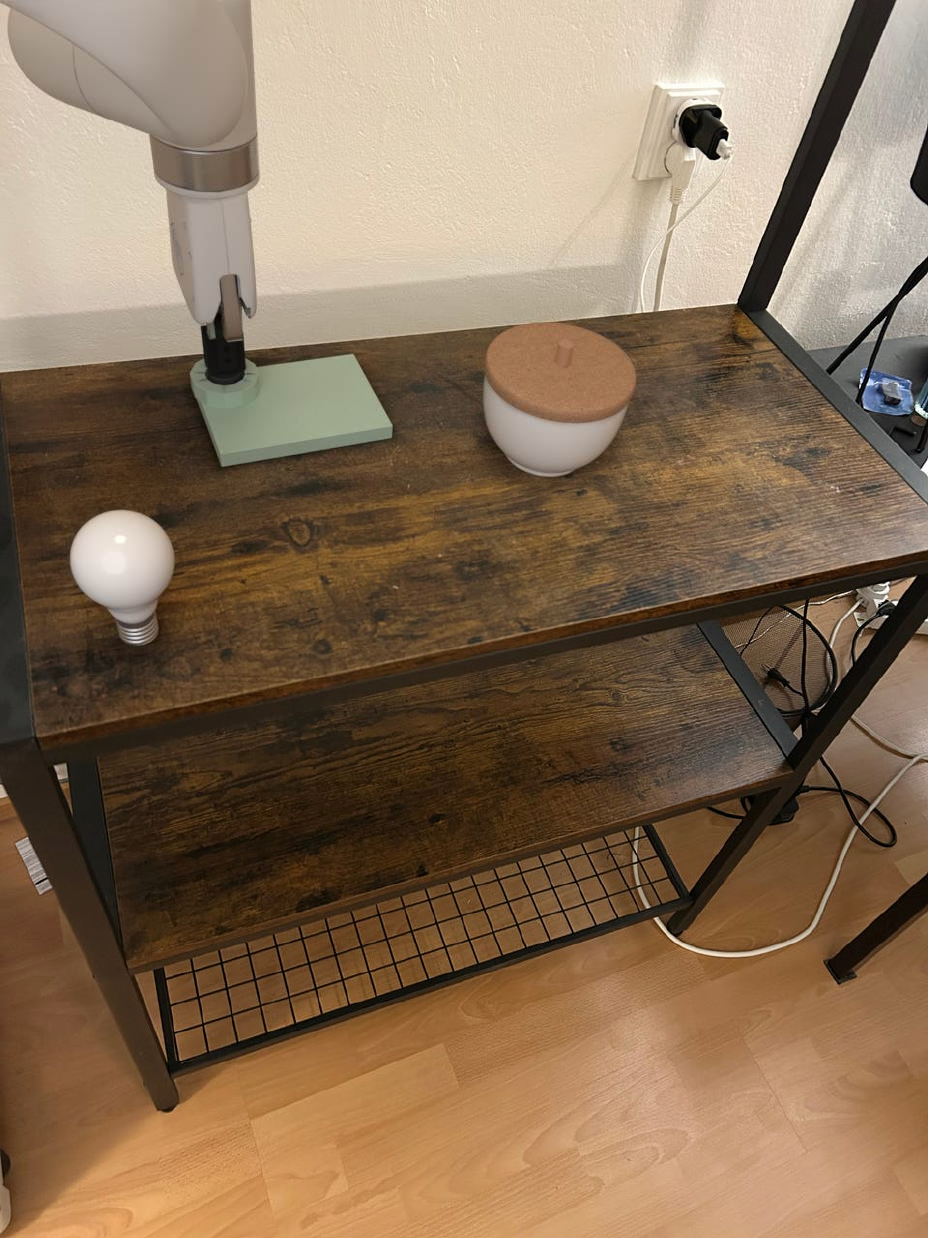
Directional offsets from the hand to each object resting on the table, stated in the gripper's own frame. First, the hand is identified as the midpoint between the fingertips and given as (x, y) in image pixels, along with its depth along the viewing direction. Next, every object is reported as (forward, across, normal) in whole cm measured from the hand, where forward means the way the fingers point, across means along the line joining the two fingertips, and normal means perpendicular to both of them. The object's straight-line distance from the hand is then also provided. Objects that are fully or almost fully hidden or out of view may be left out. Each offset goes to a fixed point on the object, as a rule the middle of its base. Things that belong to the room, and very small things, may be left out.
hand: (225, 368), depth 84 cm
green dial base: (+3, +3, +5) cm, 7 cm away
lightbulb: (+4, +25, -12) cm, 28 cm away
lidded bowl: (+4, +14, +25) cm, 29 cm away
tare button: (+2, 0, 0) cm, 2 cm away
